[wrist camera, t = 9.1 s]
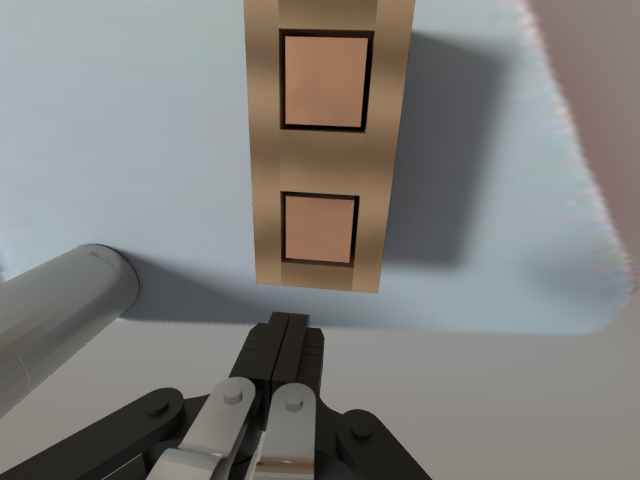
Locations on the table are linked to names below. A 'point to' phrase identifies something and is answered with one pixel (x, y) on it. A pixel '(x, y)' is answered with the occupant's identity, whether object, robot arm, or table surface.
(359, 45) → the peg near
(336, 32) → the walnut block
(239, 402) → the robot arm
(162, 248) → the table surface
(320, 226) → the peg far
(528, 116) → the table surface
